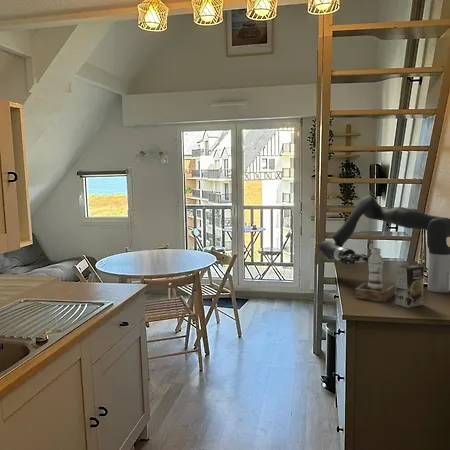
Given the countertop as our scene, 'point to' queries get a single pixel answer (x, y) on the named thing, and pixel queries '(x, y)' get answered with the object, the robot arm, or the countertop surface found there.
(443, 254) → the robot arm
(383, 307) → the countertop surface
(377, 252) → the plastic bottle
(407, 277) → the coffee box
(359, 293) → the walnut bay
